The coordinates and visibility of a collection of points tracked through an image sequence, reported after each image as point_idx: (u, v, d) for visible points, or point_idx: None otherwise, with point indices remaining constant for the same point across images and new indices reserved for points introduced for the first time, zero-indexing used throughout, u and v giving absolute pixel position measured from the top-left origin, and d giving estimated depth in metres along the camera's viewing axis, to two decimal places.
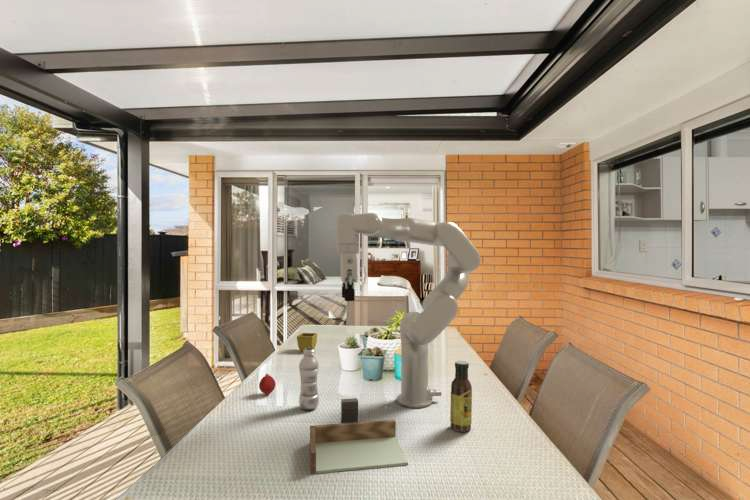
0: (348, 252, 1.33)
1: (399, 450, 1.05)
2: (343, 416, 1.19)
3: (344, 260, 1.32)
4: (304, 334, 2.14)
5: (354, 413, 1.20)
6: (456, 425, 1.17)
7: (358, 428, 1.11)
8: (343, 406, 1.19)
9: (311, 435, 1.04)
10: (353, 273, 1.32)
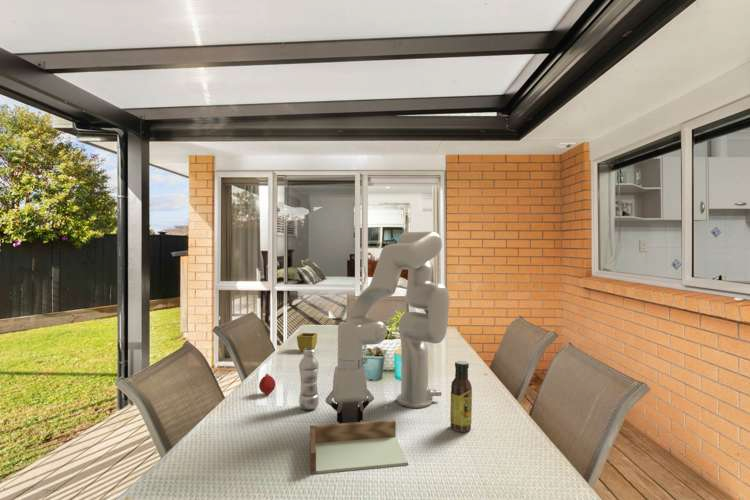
0: (362, 366, 1.20)
1: (399, 450, 1.05)
2: (343, 416, 1.19)
3: (365, 376, 1.19)
4: (304, 334, 2.14)
5: (354, 413, 1.20)
6: (456, 425, 1.17)
7: (358, 428, 1.11)
8: (343, 406, 1.19)
9: (311, 435, 1.04)
10: None
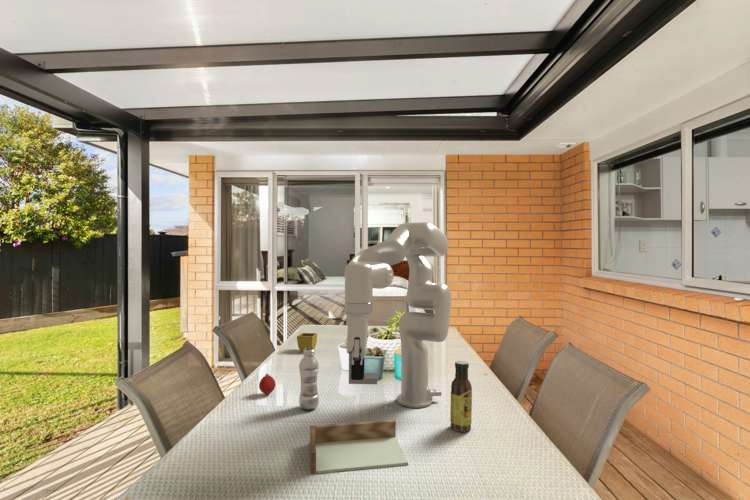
0: None
1: (399, 450, 1.05)
2: None
3: None
4: (304, 334, 2.14)
5: None
6: (456, 425, 1.17)
7: (358, 428, 1.11)
8: None
9: (311, 435, 1.04)
10: None
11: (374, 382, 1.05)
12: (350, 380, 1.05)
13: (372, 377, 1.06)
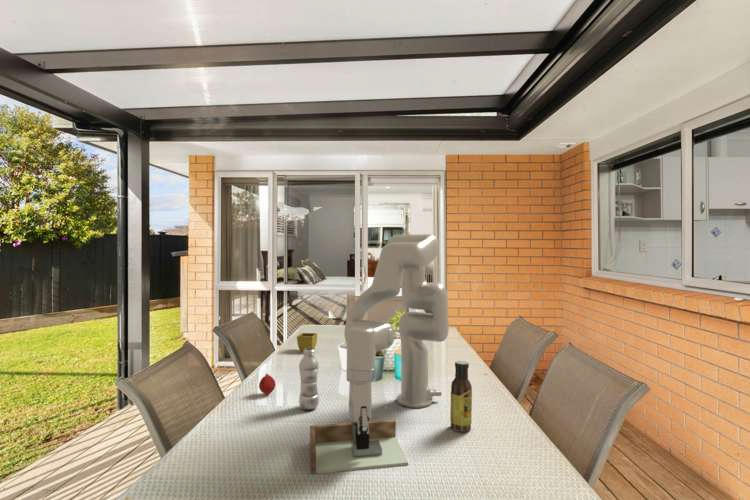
0: None
1: (399, 450, 1.05)
2: None
3: None
4: (304, 334, 2.14)
5: None
6: (456, 425, 1.17)
7: None
8: None
9: (311, 435, 1.04)
10: None
11: (379, 453, 1.03)
12: (355, 453, 1.02)
13: (376, 447, 1.04)
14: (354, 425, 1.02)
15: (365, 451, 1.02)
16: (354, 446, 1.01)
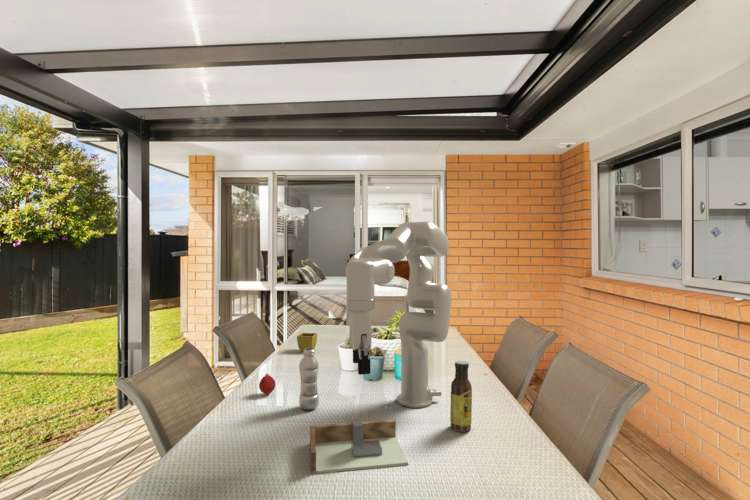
0: None
1: (399, 450, 1.05)
2: (362, 441, 1.02)
3: None
4: (304, 334, 2.14)
5: None
6: (456, 425, 1.17)
7: None
8: (362, 429, 1.02)
9: (311, 435, 1.04)
10: None
11: (379, 453, 1.03)
12: (355, 453, 1.02)
13: (376, 447, 1.04)
14: (354, 425, 1.02)
15: (365, 451, 1.02)
16: (354, 446, 1.01)
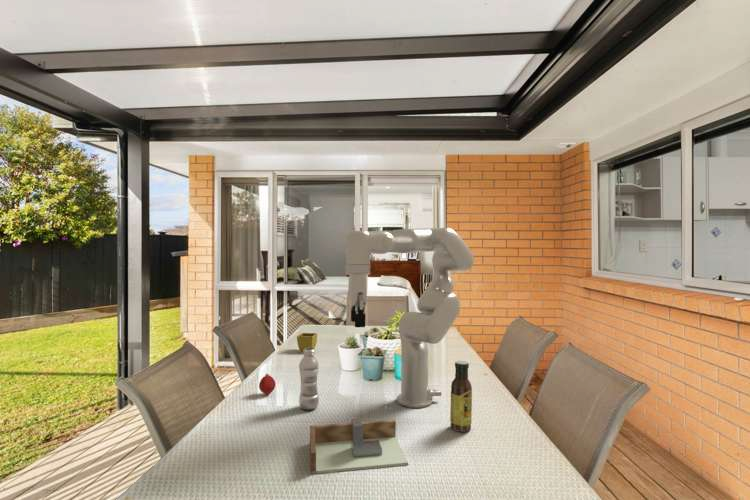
0: None
1: (399, 450, 1.05)
2: (362, 441, 1.02)
3: None
4: (304, 334, 2.14)
5: None
6: (456, 425, 1.17)
7: None
8: (362, 429, 1.02)
9: (311, 435, 1.04)
10: None
11: (379, 453, 1.03)
12: (355, 453, 1.02)
13: (376, 447, 1.04)
14: (354, 425, 1.02)
15: (365, 451, 1.02)
16: (354, 446, 1.01)
